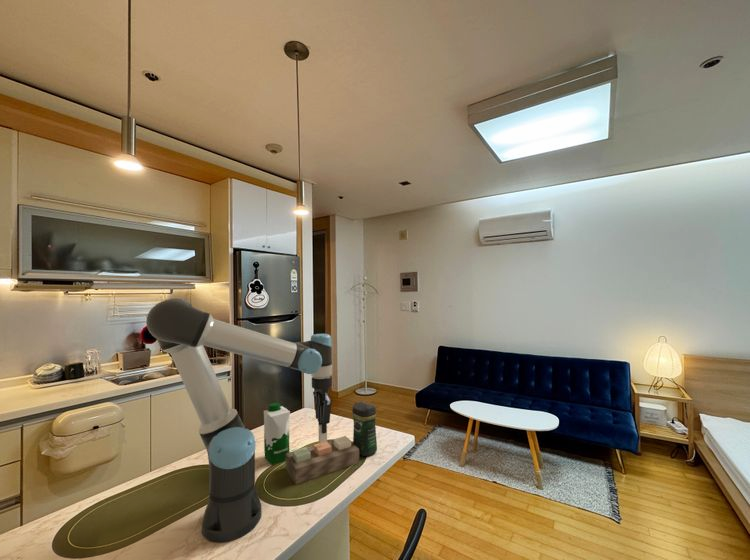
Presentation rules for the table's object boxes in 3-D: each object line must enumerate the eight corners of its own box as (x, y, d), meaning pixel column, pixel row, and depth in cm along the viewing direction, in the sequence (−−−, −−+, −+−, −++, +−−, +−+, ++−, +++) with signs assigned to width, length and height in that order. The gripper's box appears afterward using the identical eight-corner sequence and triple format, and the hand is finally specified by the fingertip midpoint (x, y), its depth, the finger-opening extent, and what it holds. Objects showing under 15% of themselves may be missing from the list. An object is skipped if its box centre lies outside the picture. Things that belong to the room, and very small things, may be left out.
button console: (295, 484, 104) (295, 468, 104) (285, 467, 114) (285, 453, 114) (359, 462, 117) (359, 449, 117) (345, 449, 127) (345, 436, 127)
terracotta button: (318, 460, 112) (318, 450, 112) (313, 454, 116) (313, 444, 117) (331, 456, 115) (331, 446, 115) (326, 450, 119) (326, 441, 119)
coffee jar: (380, 451, 124) (379, 404, 125) (365, 459, 119) (364, 409, 120) (364, 443, 131) (364, 398, 132) (349, 450, 126) (348, 403, 127)
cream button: (339, 454, 116) (339, 444, 116) (333, 448, 121) (333, 439, 121) (351, 450, 119) (351, 440, 119) (345, 444, 123) (345, 435, 123)
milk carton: (283, 450, 127) (282, 400, 128) (293, 459, 120) (292, 406, 121) (261, 457, 121) (261, 405, 122) (270, 467, 114) (270, 411, 115)
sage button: (296, 467, 108) (296, 456, 108) (292, 460, 112) (292, 450, 112) (310, 462, 111) (310, 452, 111) (306, 456, 115) (305, 446, 115)
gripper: (338, 378, 113) (339, 445, 112) (324, 371, 124) (325, 431, 123) (318, 382, 109) (319, 451, 108) (306, 374, 120) (307, 436, 119)
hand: (322, 440), depth 116 cm, fingers closed
